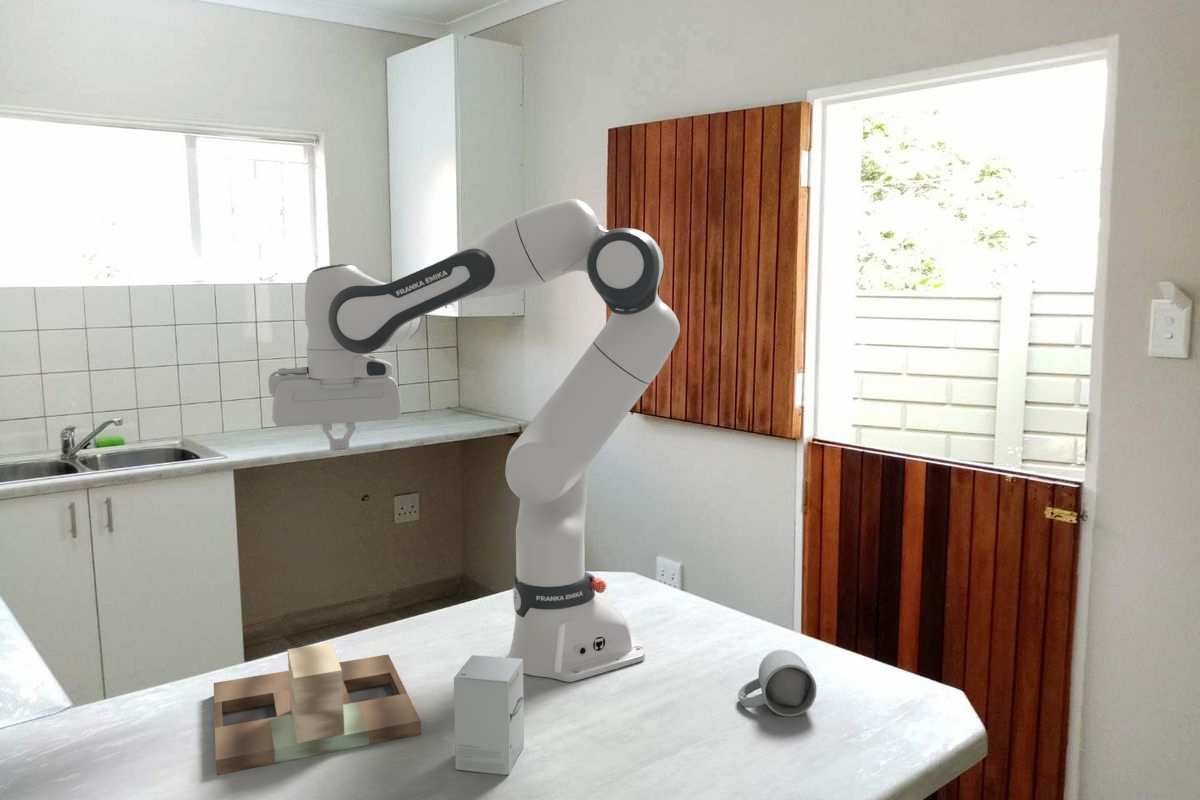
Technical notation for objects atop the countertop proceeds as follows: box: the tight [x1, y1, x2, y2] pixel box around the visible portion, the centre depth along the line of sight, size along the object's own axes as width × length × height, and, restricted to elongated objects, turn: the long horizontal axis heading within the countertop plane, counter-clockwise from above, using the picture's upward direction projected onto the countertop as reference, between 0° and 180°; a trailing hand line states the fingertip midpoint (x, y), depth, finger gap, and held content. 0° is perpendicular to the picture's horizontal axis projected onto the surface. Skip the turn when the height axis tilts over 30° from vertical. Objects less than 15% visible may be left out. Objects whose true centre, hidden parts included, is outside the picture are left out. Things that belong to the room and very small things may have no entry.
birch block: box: [287, 642, 344, 743], centre depth 126 cm, size 6×10×9 cm, turn 23°
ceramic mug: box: [737, 649, 817, 718], centre depth 135 cm, size 11×8×8 cm
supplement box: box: [453, 654, 525, 776], centre depth 120 cm, size 7×7×13 cm
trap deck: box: [213, 654, 422, 776], centre depth 133 cm, size 26×24×2 cm
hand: (339, 449), depth 151 cm, fingers closed
